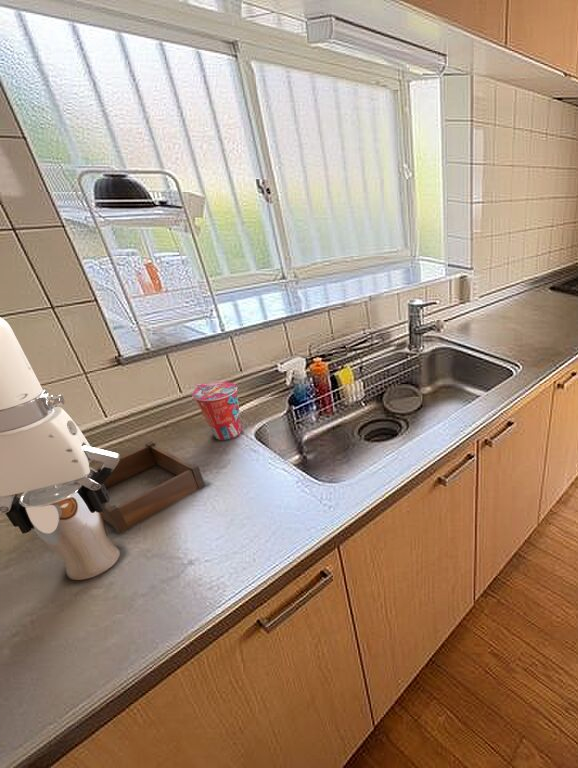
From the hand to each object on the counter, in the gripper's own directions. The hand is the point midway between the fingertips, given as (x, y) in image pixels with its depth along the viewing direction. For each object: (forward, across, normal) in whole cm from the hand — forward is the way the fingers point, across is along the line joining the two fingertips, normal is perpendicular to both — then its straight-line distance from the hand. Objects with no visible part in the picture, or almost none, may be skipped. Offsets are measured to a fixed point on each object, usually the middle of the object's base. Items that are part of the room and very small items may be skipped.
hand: (67, 515), depth 61 cm
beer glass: (+10, 0, 0) cm, 10 cm away
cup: (+11, -19, -32) cm, 38 cm away
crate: (+11, -4, -16) cm, 20 cm away
